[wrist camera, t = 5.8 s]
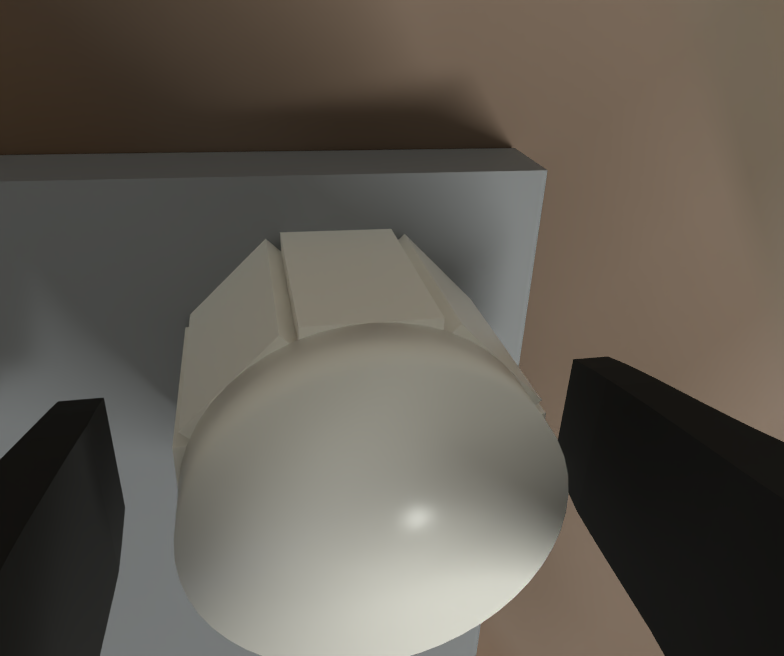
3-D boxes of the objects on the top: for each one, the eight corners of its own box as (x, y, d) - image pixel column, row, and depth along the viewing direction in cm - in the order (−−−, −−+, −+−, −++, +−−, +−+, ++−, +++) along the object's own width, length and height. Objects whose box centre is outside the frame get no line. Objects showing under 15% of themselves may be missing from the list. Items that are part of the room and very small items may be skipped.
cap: (203, 486, 13) (194, 693, 9) (174, 235, 10) (148, 383, 7) (457, 459, 14) (538, 637, 10) (483, 225, 12) (600, 349, 8)
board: (-73, 709, 16) (-163, 939, 12) (-325, 159, 10) (-662, 285, 6) (456, 624, 19) (514, 794, 15) (514, 148, 13) (638, 230, 9)
